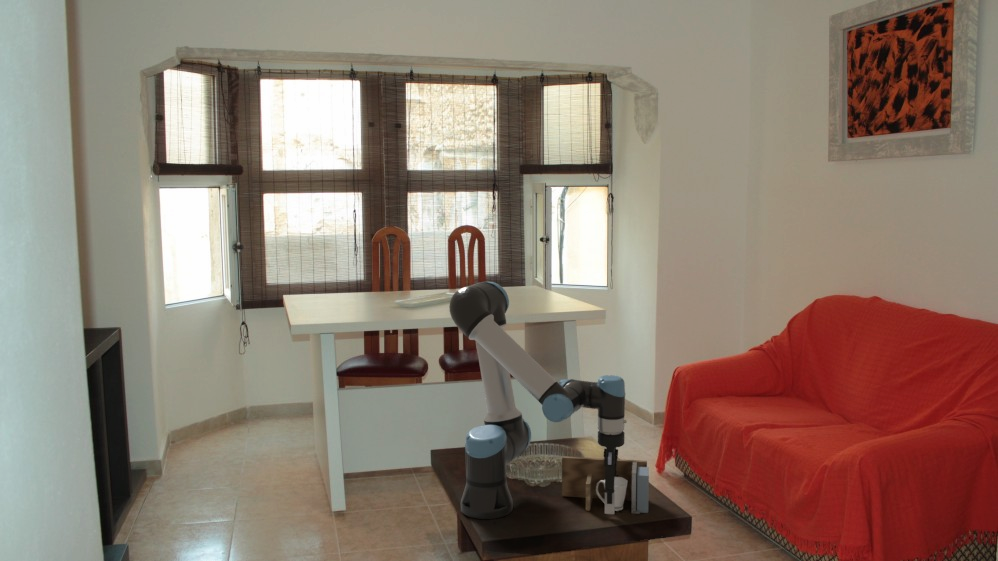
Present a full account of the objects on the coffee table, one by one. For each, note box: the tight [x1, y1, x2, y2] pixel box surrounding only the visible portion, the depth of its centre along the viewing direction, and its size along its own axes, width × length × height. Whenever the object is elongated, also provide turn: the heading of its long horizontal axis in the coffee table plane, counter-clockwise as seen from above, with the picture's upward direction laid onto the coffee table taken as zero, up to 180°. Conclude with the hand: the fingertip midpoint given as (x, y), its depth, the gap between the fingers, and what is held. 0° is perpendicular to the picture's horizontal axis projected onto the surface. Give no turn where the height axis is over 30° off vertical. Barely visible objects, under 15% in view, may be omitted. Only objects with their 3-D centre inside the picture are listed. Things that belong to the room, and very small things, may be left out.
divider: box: [585, 474, 593, 511], centre depth 241 cm, size 1×8×8 cm, turn 169°
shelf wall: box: [561, 455, 648, 501], centre depth 246 cm, size 25×1×12 cm, turn 79°
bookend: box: [630, 462, 641, 515], centre depth 239 cm, size 2×9×12 cm, turn 169°
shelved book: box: [637, 466, 650, 514], centre depth 239 cm, size 3×7×11 cm, turn 169°
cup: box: [596, 477, 628, 512], centre depth 238 cm, size 7×10×8 cm
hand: (610, 507), depth 237 cm, fingers open, 8 cm apart
